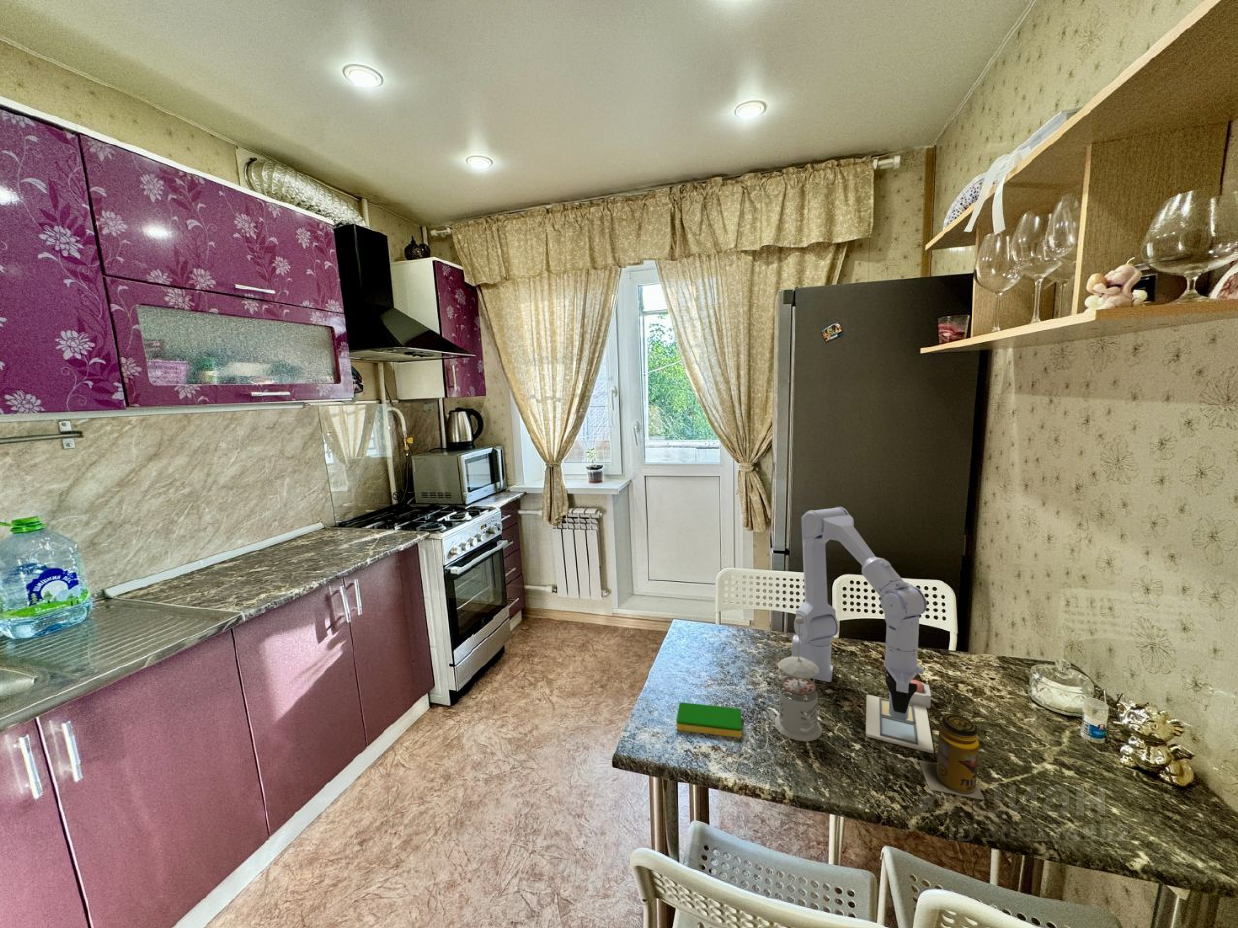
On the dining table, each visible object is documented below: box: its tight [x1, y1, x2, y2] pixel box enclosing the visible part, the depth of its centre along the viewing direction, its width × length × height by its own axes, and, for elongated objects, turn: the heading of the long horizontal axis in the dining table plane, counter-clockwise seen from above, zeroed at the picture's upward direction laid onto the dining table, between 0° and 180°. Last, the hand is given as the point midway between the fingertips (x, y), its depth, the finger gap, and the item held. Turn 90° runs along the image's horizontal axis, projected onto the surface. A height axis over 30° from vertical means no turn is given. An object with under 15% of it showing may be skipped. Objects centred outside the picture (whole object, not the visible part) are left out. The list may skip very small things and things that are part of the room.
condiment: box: [918, 713, 985, 800], centre depth 89 cm, size 7×8×12 cm
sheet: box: [865, 694, 935, 754], centre depth 106 cm, size 12×15×1 cm
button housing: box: [909, 681, 932, 709], centre depth 114 cm, size 6×6×3 cm
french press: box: [774, 616, 823, 742], centre depth 105 cm, size 10×12×25 cm
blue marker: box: [888, 693, 909, 720], centre depth 102 cm, size 4×4×7 cm
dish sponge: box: [675, 701, 743, 738], centre depth 108 cm, size 7×14×2 cm, turn 77°
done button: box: [910, 679, 923, 693], centre depth 114 cm, size 3×3×3 cm
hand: (899, 705), depth 102 cm, fingers closed on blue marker, 4 cm apart
